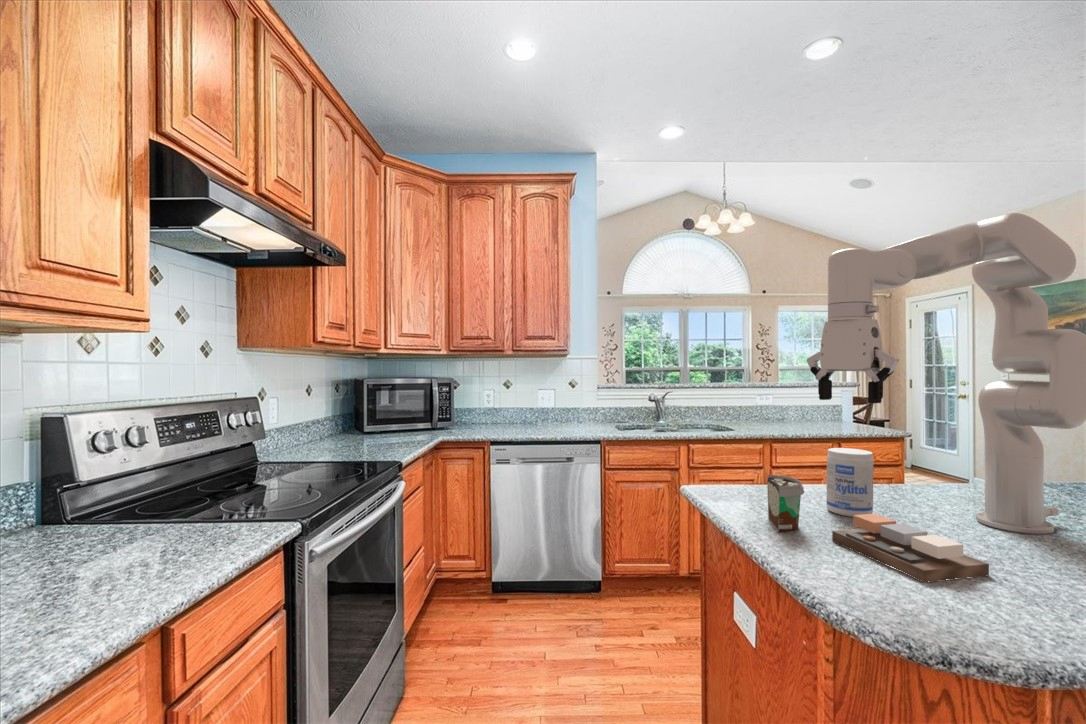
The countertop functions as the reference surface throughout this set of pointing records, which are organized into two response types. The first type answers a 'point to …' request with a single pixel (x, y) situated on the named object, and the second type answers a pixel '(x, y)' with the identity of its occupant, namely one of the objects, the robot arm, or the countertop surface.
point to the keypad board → (909, 557)
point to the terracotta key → (871, 522)
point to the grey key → (901, 533)
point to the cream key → (937, 546)
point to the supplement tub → (849, 481)
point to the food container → (784, 502)
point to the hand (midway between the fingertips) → (849, 401)
